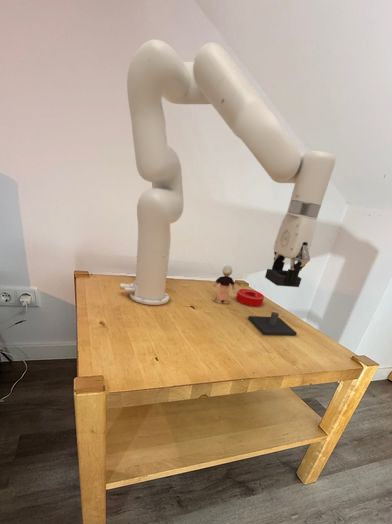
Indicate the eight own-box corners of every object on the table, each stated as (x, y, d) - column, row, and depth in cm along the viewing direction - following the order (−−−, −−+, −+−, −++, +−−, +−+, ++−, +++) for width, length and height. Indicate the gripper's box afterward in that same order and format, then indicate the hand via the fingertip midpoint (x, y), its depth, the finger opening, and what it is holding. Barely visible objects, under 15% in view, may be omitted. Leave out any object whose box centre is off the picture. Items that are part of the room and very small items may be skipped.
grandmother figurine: (228, 299, 107) (235, 264, 101) (232, 304, 104) (241, 268, 98) (208, 299, 104) (215, 263, 98) (212, 303, 101) (220, 266, 95)
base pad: (263, 335, 86) (267, 321, 83) (247, 318, 95) (251, 305, 92) (295, 335, 89) (300, 322, 87) (277, 319, 98) (281, 307, 96)
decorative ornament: (232, 295, 112) (234, 287, 111) (256, 297, 115) (258, 289, 113) (240, 305, 104) (243, 296, 103) (265, 307, 107) (268, 299, 105)
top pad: (276, 285, 79) (279, 276, 78) (264, 277, 85) (267, 268, 84) (298, 287, 81) (301, 278, 80) (285, 279, 87) (288, 270, 86)
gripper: (273, 204, 80) (256, 269, 89) (310, 213, 66) (286, 289, 75) (297, 208, 82) (278, 271, 91) (338, 217, 68) (311, 291, 77)
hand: (282, 279), depth 83 cm, fingers closed on top pad, 7 cm apart
